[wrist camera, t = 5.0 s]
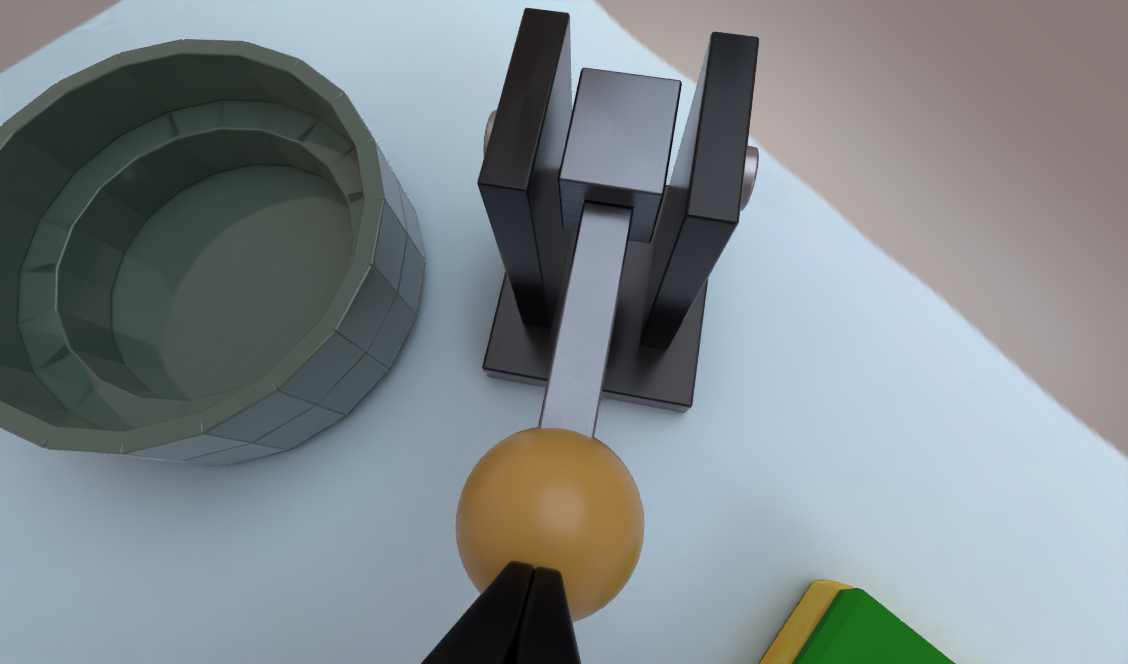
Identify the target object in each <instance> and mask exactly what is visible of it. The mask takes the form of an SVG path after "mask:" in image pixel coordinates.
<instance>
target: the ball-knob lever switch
mask: <svg viewBox="0 0 1128 664" xmlns="http://www.w3.org/2000/svg"><path fill="white" fill-rule="evenodd" d="M758 46H759V38H758V37H753V36H745V35H737V34H729V33H721V32H713V33H712V34H711V36H710V39H709V43H708V47H707V51H706V54H705V58H704V61H703V65H702V68H701V72H700V76H699V79H698V83H697V87H696V90H695V94H694V97H693V101H692V105H691V108H690V112H689V116H688V119H687V123H686V126H685V130H684V134H683V137H682V141H681V145H680V148H679V152H678V155H677V159H676V163H675V166H674V170H673V174H672V177H671V181H670V185H666V186H665V192H664V197H663V200H662V204H661V207H660V211H659V215H658V218H657V222H656V226H655V229H654V233H653V237H652V240H651V242H650V243H643V242H636V241H630V240H628V245H627V251H626V257H625V262H624V268H623V274H622V280H621V285H620V291H619V297H618V302H617V308H616V314H615V320H614V325H613V331H612V337H611V342H610V348H609V354H608V360H607V365H606V371H605V377H604V383H603V388H602V394H601V398H607V399H612V400H618V401H623V402H629V403H634V404H639V405H645V406H650V407H656V408H661V409H666V410H672V411H677V412H683V413H684V412H686V411H687V410H688V409H690V408H691V407H692V403H693V395H694V387H695V379H696V371H697V363H698V355H699V347H700V339H701V331H702V323H703V315H704V307H705V299H706V292H707V284H708V277H709V275H710V273H711V271H712V270H713V268H714V266H715V264H716V262H717V261H718V259H719V257H720V255H721V253H722V252H723V250H724V248H725V246H726V244H727V243H728V241H729V239H730V237H731V235H732V234H733V232H734V230H735V228H736V227H737V225H738V223H739V216H740V211H741V210H743V209H744V208H745V207H746V205H747V203H748V201H749V199H750V196H751V194H752V190H753V187H754V183H755V179H756V175H757V169H758V161H759V154H758V149H757V148H756V147H752V146H747V145H748V136H749V127H750V117H751V109H752V100H753V91H754V82H755V73H756V64H757V55H758ZM571 114H572V91H571V49H570V16H569V13H564V12H556V11H548V10H540V9H532V8H525V9H524V13H523V16H522V20H521V24H520V27H519V31H518V35H517V38H516V42H515V46H514V49H513V53H512V57H511V60H510V64H509V68H508V71H507V75H506V79H505V83H504V86H503V90H502V94H501V97H500V101H499V105H498V108H497V110H495V111H493V112H492V113H491V115H490V117H489V119H488V122H487V126H486V130H485V137H484V160H483V164H482V167H481V171H480V175H479V178H478V182H477V183H478V187H479V190H480V193H481V196H482V199H483V202H484V205H485V208H486V211H487V214H488V218H489V221H490V224H491V227H492V230H493V233H494V236H495V239H496V242H497V245H498V248H499V252H500V255H501V258H502V261H503V264H504V267H505V270H506V271H505V275H504V279H503V284H502V288H501V292H500V296H499V300H498V304H497V308H496V312H495V317H494V321H493V325H492V329H491V333H490V337H489V341H488V346H487V350H486V354H485V358H484V362H483V366H482V368H483V370H484V372H485V373H486V374H487V376H489V377H493V378H498V379H504V380H509V381H515V382H520V383H525V384H531V385H536V386H542V387H546V385H547V380H548V375H549V370H550V365H551V360H552V355H553V350H554V345H555V340H556V336H557V331H558V326H559V321H560V316H561V311H562V306H563V301H564V296H565V291H566V286H567V281H568V276H569V271H570V266H571V261H572V256H573V251H574V246H575V241H576V236H577V232H574V231H567V230H563V229H562V220H561V209H560V198H559V187H558V174H559V170H560V165H561V161H562V156H563V151H564V147H565V142H566V137H567V133H568V128H569V124H570V119H571Z"/></svg>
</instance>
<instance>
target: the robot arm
mask: <svg viewBox="0 0 1128 664" xmlns="http://www.w3.org/2000/svg"><path fill="white" fill-rule="evenodd" d="M421 664H581V661H580V656H579V652H578V647H577V643H576V638H575V633H574V629H573V624H572V619H571V615H570V610H569V606H568V601H567V596H566V592H565V587H564V582H563V578H562V574H561V572H560V571H559V570H556V569H552V568H547V567H542V566H538V567H537V568H536V569H535V568H534V566H533V565H532V564H528V563H523V562H519V561H511V562H509V563H508V564H507V565H506V566H505V567H504V568H503V570H502V571H501V572H500V573H499V574H498V575H497V576H496V578H495V579H494V580H493V581H492V582H491V583H490V585H489V586H488V587H487V588H486V589H485V590H484V591H483V593H482V594H481V595H480V596H479V597H478V598H477V600H476V601H475V602H474V603H473V604H472V605H471V606H470V608H469V609H468V610H467V611H466V612H465V613H464V614H463V616H462V617H461V618H460V619H459V620H458V621H457V623H456V624H455V625H454V626H453V627H452V628H451V629H450V631H449V632H448V633H447V634H446V635H445V636H444V638H443V639H442V640H441V641H440V642H439V643H438V644H437V646H436V647H435V648H434V649H433V650H432V651H431V653H430V654H429V655H428V656H427V657H426V658H425V659H424V661H423V662H422V663H421Z"/></svg>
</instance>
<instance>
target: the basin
mask: <svg viewBox="0 0 1128 664" xmlns="http://www.w3.org/2000/svg"><path fill="white" fill-rule="evenodd" d="M424 267H425V261H424V253H423V248H422V243H421V238H420V233H419V227H418V222H417V217H416V213H415V210H414V208H413V206H412V205H411V203H410V201H409V199H408V198H407V196H406V194H405V192H404V191H403V189H402V187H401V185H400V184H399V182H398V180H397V178H396V176H395V175H394V173H393V171H392V169H391V168H390V166H389V164H388V162H387V161H386V159H385V157H384V155H383V154H382V152H381V150H380V148H379V146H378V145H377V143H376V141H375V139H374V138H373V136H372V135H371V133H370V131H369V130H368V128H367V126H366V125H365V123H364V122H363V120H362V118H361V117H360V115H359V114H358V112H357V110H356V109H355V107H354V105H353V104H352V102H351V101H350V99H349V97H348V96H347V95H346V94H345V92H344V91H342V90H341V89H340V88H338V87H337V86H336V85H334V84H333V83H332V82H330V81H329V80H328V79H326V78H325V77H324V76H322V75H321V74H320V73H318V72H317V71H316V70H314V69H313V68H312V67H310V66H309V65H308V64H306V63H305V62H304V61H302V60H300V59H298V58H295V57H292V56H289V55H286V54H283V53H280V52H277V51H274V50H271V49H268V48H264V47H261V46H258V45H255V44H252V43H249V42H244V41H225V40H193V39H185V40H182V39H181V40H176V41H172V42H167V43H162V44H158V45H153V46H149V47H144V48H139V49H135V50H130V51H126V52H121V53H120V54H116V55H114V56H112V57H110V58H108V59H105V60H103V61H101V62H99V63H97V64H95V65H93V66H90V67H88V68H86V69H84V70H82V71H80V72H78V73H76V74H73V75H71V76H69V77H67V78H65V79H63V80H61V81H59V82H58V84H57V83H56V84H54V85H53V86H51V87H50V88H49V89H47V90H46V91H45V92H44V93H42V94H41V95H40V96H38V97H37V98H36V99H34V100H33V101H32V102H31V103H29V104H28V105H27V106H25V107H24V108H23V109H22V110H20V111H19V112H18V113H16V114H15V115H14V116H12V117H11V118H10V119H9V120H7V121H6V122H5V123H3V125H2V126H0V428H2V429H4V430H6V431H8V432H10V433H12V434H14V435H16V436H19V437H21V438H23V439H25V440H27V441H29V442H31V443H33V444H36V445H38V446H40V447H42V448H46V449H49V450H58V451H68V452H78V453H87V454H97V455H107V456H118V457H127V458H136V459H146V460H156V461H165V462H179V463H193V464H207V465H231V464H235V463H239V462H243V461H246V460H250V459H254V458H258V457H262V456H266V455H270V454H274V453H278V452H282V451H286V450H288V449H291V448H293V447H295V446H296V445H298V444H300V443H301V442H303V441H305V440H306V439H308V438H310V437H312V436H313V435H315V434H317V433H318V432H320V431H322V430H323V429H325V428H327V427H328V426H330V425H332V424H333V423H335V422H337V421H338V420H340V419H342V418H343V417H345V415H346V414H348V413H349V412H350V411H351V410H352V408H353V407H354V406H355V405H356V404H357V403H358V402H359V401H360V400H361V399H362V398H363V397H364V396H365V395H366V394H367V393H368V391H369V390H370V389H371V388H372V387H373V386H374V385H375V384H376V383H377V382H378V381H379V380H380V379H381V378H382V377H383V376H384V374H385V373H386V372H387V371H388V370H389V369H390V368H391V366H392V364H393V362H394V360H395V358H396V356H397V354H398V352H399V350H400V348H401V346H402V344H403V342H404V340H405V338H406V336H407V334H408V332H409V330H410V328H411V326H412V324H413V322H414V320H415V318H416V315H417V312H418V305H419V299H420V292H421V286H422V279H423V273H424Z"/></svg>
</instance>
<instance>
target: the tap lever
mask: <svg viewBox="0 0 1128 664" xmlns="http://www.w3.org/2000/svg"><path fill="white" fill-rule="evenodd" d="M681 86H682V83H681V81H680V80H673V79H666V78H658V77H651V76H643V75H636V74H628V73H621V72H613V71H606V70H598V69H591V68H582V70H581V73H580V78H579V82H578V87H577V91H576V96H575V101H574V105H573V110H572V114H571V119H570V124H569V128H568V133H567V137H566V142H565V147H564V151H563V156H562V161H561V165H560V170H559V174H558V187H559V198H560V209H561V220H562V229H563V230H567V231H574V232H577V236H576V241H575V246H574V251H573V256H572V261H571V266H570V271H569V276H568V281H567V286H566V291H565V296H564V301H563V306H562V311H561V316H560V321H559V326H558V331H557V336H556V340H555V345H554V350H553V355H552V360H551V365H550V370H549V375H548V380H547V385H546V390H545V395H544V400H543V405H542V410H541V415H540V420H539V425H538V427H536V428H530V429H527V430H523V431H520V432H518V433H515V434H513V435H511V436H509V437H507V438H505V439H504V440H502V441H500V442H499V443H498V444H496V445H495V446H494V447H492V448H491V449H490V450H489V451H488V452H487V453H486V454H485V455H484V456H483V457H482V458H481V459H480V460H479V462H478V463H477V464H476V466H475V467H474V468H473V470H472V472H471V473H470V475H469V477H468V479H467V481H466V483H465V485H464V488H463V490H462V493H461V496H460V500H459V503H458V509H457V515H456V537H457V545H458V550H459V554H460V557H461V560H462V563H463V566H464V568H465V570H466V572H467V574H468V576H469V578H470V580H471V581H472V583H473V584H474V586H475V587H476V589H477V590H478V591H479V592H480V593H481V594H482V593H483V591H484V590H485V589H486V588H487V587H488V586H489V585H490V583H491V582H492V581H493V580H494V579H495V578H496V576H497V575H498V574H499V573H500V572H501V571H502V570H503V568H504V567H505V566H506V565H507V564H508V563H509V562H511V561H519V562H523V563H528V564H532V565H533V566H534V568H535V569H536V568H537V567H538V566H542V567H547V568H552V569H556V570H559V571H560V572H561V574H562V578H563V582H564V587H565V592H566V596H567V601H568V606H569V610H570V615H571V619H572V622H574V621H578V620H581V619H583V618H585V617H587V616H590V615H592V614H594V613H595V612H597V611H598V610H600V609H602V608H603V607H605V606H606V605H607V604H608V603H609V602H610V601H612V600H613V599H614V598H615V597H616V596H617V594H618V593H619V592H620V591H621V590H622V589H623V588H624V586H625V585H626V583H627V582H628V580H629V579H630V577H631V575H632V573H633V571H634V569H635V567H636V565H637V562H638V559H639V556H640V553H641V548H642V544H643V537H644V513H643V507H642V501H641V498H640V494H639V491H638V488H637V486H636V484H635V481H634V479H633V477H632V475H631V474H630V472H629V470H628V469H627V467H626V466H625V464H624V463H623V462H622V461H621V459H620V458H619V457H618V456H617V455H616V454H615V453H614V452H613V451H612V450H611V449H610V448H609V447H607V446H606V445H605V444H603V443H602V442H601V441H599V440H598V439H596V438H594V434H595V428H596V423H597V417H598V411H599V405H600V400H601V394H602V388H603V383H604V377H605V371H606V365H607V360H608V354H609V348H610V342H611V337H612V331H613V325H614V320H615V314H616V308H617V302H618V297H619V291H620V285H621V280H622V274H623V268H624V262H625V257H626V251H627V245H628V240H630V241H636V242H643V243H650V242H651V240H652V237H653V233H654V229H655V226H656V222H657V218H658V215H659V211H660V207H661V204H662V200H663V197H664V192H665V186H666V180H667V173H668V167H669V161H670V155H671V148H672V142H673V136H674V130H675V124H676V117H677V111H678V105H679V99H680V92H681Z"/></svg>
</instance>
